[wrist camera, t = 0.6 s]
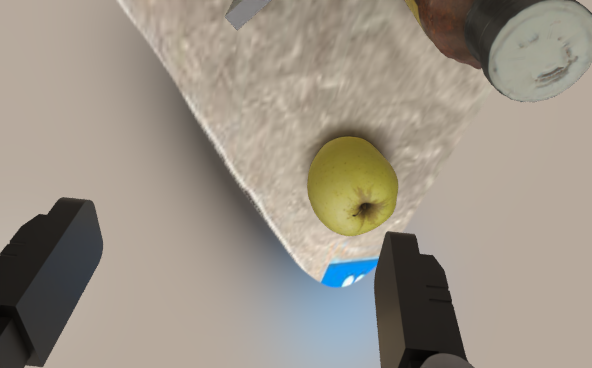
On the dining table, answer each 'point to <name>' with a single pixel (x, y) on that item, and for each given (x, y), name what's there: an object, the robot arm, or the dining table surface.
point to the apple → (351, 186)
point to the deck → (244, 11)
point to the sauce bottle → (513, 41)
